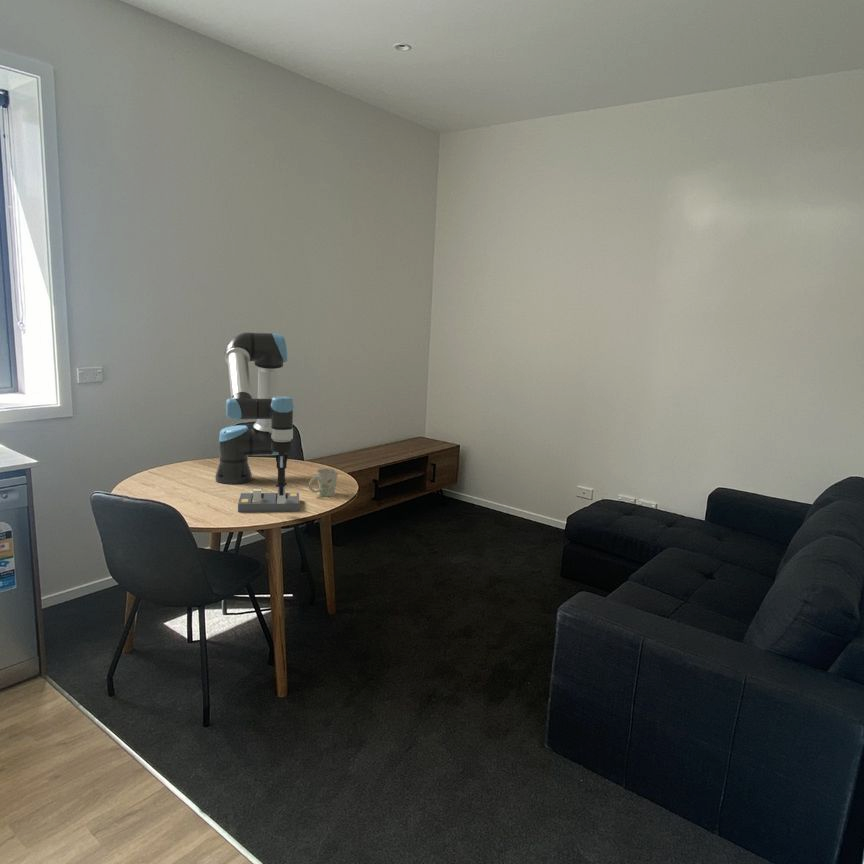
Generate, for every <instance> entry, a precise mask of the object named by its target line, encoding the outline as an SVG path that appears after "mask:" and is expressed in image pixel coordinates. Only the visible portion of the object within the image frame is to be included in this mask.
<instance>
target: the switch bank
mask: <svg viewBox="0 0 864 864" xmlns="http://www.w3.org/2000/svg"><path fill="white" fill-rule="evenodd" d="M261 498H262V503H252V501H253V492H241V493H240V495H239V499H238V503H237V512H239V513H241V512H244V513H247V512H250V513H251V512H252V513H253V512H254V513H255V512H256V513H257V512H299V511H300V492H286V496H285V499H286V503H285V504H277V492H261Z"/></svg>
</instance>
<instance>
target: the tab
mask: <svg viewBox="0 0 864 864" xmlns="http://www.w3.org/2000/svg"><path fill="white" fill-rule="evenodd" d="M252 493H253V501H252V503H262V498H261V493H262V489H261V488H253V489H252Z"/></svg>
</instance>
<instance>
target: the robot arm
mask: <svg viewBox="0 0 864 864" xmlns="http://www.w3.org/2000/svg"><path fill="white" fill-rule="evenodd" d="M224 361H225V363H226V364H227V367H228V368H227V369H228V378H229V379H228V380H229V391H230V393H229V394H230V398H227V399H226V401H225V412H226V413H225V414H226V418H228V419H229V420H237V421H239V420H256V422H254V424H253V426H252V428H251V429H250V428H249V427H248V426H247V425H239V424H238V425H231V426H227V427H224V428H222V429H220V431H219V438H218V442H219V463H218V467H217V469H216V472H215V477H214V478H215V482H217V483H221V484H227V485H239V484H245V483H248V482H251V481H252V479H253V473H252V471H251V467H250V465H249V460H248V459H249V458H248V457H249V456H250V457H252V456H255V457H256V456H261V457H262V456H268V457H269V456H275V462H276V468H277V469H276V470H277V484H275V487H277V492H276V493H277V504H285V490H286V485H288V483H287V482H286V469H287V465H288V464H287V462H288V454H286V453H289V452H292V451H293V438H294V427H293V426H294V425H293V424H294V423H293V422H294V420H293V419H294V400H293V398H292V397H290V396H285V395H281V396H280V395H279V389H280V388H279V385H280V384H279V383H280V370H281V369H282V368H283V367H284V363H287V362H288V349H287V342H286V339H285V337H284V335H283V334H281V333H274V332H273V333H271V332H269V333H268V332H241V333H239V334H237V335H236V336H234V337H232V338H231V340H230V341H228V343H227V345H226V347H225V350H224ZM249 362H254V367H255V368H256V369H257V371H258V372H257V398H253V395H252V392H253V391H252V384H251V376H250V369H249V368H250V366H249Z"/></svg>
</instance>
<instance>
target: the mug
mask: <svg viewBox="0 0 864 864" xmlns="http://www.w3.org/2000/svg"><path fill="white" fill-rule="evenodd" d="M316 475H317V476H313V477H312V478H311V479H310V481H309V482H308V487H309V490H310V491H311V492H312V493H319V496H320V497H328V498H329V497H334V495H335V492H336V486H337V479H338V470H337V469H334V468H320V469H318V470H317V471H316ZM316 480H317V484H318V489H313V483H314V481H316Z"/></svg>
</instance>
